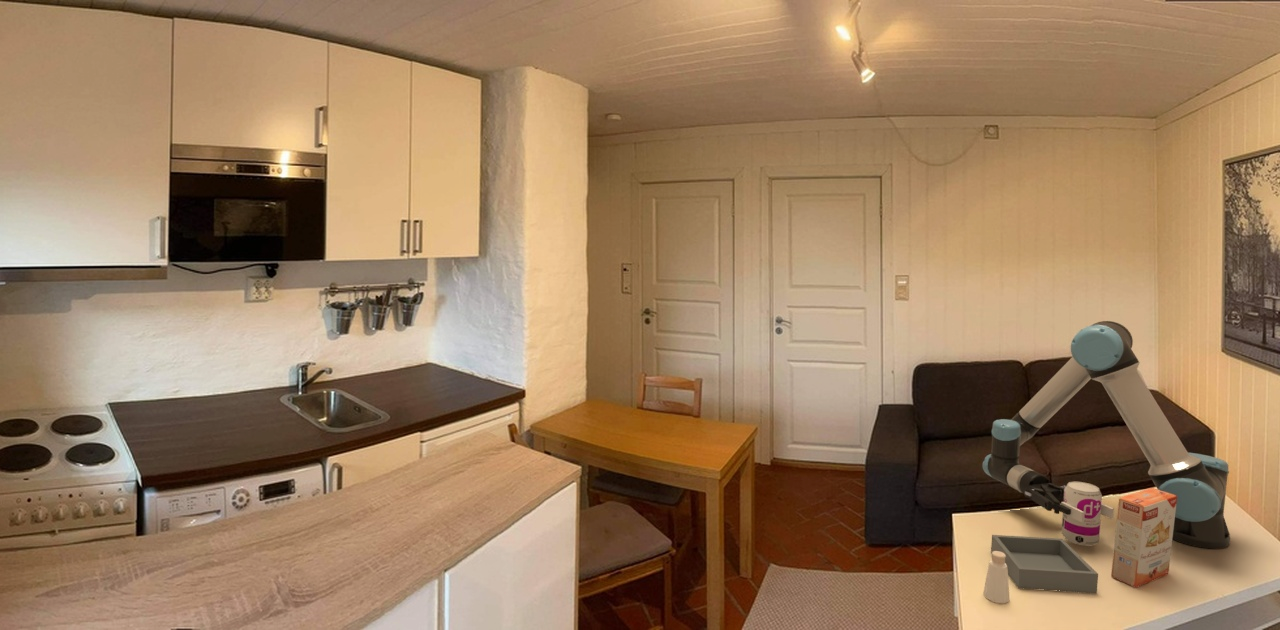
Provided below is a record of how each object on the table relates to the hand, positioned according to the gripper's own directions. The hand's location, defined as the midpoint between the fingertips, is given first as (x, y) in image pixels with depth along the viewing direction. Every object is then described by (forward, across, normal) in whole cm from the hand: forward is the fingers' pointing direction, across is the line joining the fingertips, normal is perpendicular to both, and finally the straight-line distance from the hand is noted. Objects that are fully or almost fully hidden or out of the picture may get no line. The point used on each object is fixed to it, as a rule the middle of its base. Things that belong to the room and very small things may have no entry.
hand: (1097, 515), depth 161 cm
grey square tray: (+4, +20, -11) cm, 23 cm away
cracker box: (+11, -2, -11) cm, 16 cm away
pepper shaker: (+11, +39, -11) cm, 42 cm away
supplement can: (-5, 0, -9) cm, 10 cm away
